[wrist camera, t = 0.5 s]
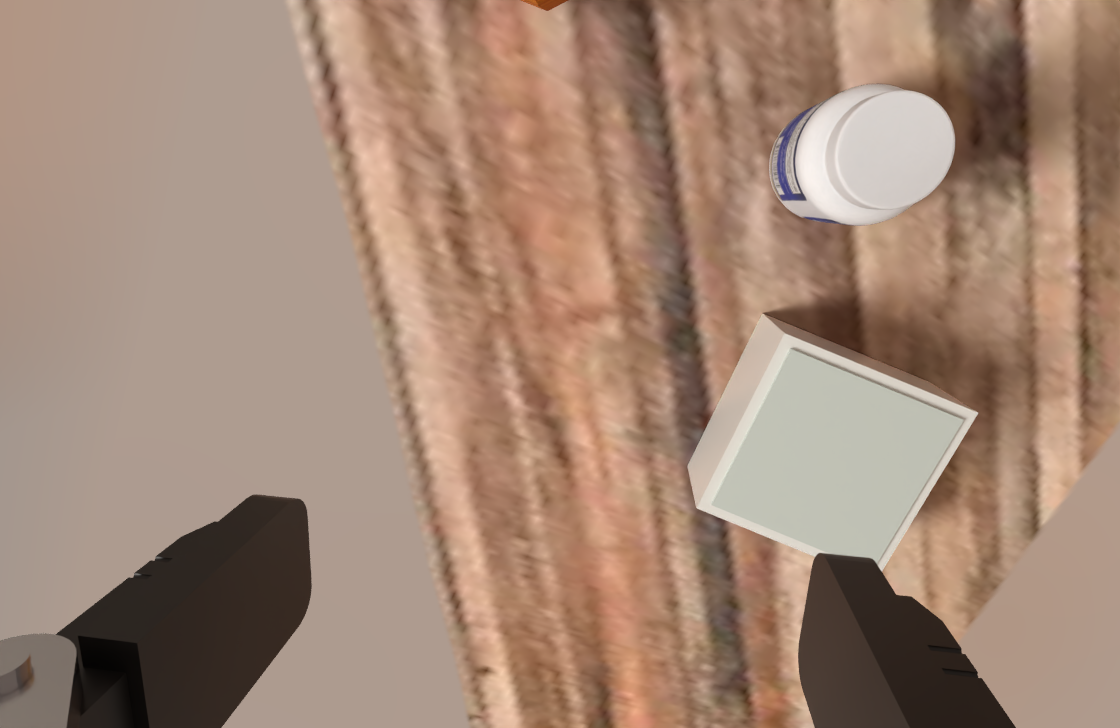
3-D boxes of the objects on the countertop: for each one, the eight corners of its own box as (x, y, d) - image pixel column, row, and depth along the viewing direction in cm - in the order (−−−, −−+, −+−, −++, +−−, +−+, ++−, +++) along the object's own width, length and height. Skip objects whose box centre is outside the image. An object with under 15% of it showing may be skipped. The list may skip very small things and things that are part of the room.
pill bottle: (907, 146, 31) (1013, 127, 22) (833, 241, 32) (907, 258, 24) (814, 80, 31) (885, 36, 22) (743, 179, 32) (785, 174, 23)
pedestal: (762, 313, 33) (785, 333, 28) (928, 381, 33) (980, 414, 28) (687, 465, 36) (696, 510, 31) (842, 529, 36) (877, 583, 31)
